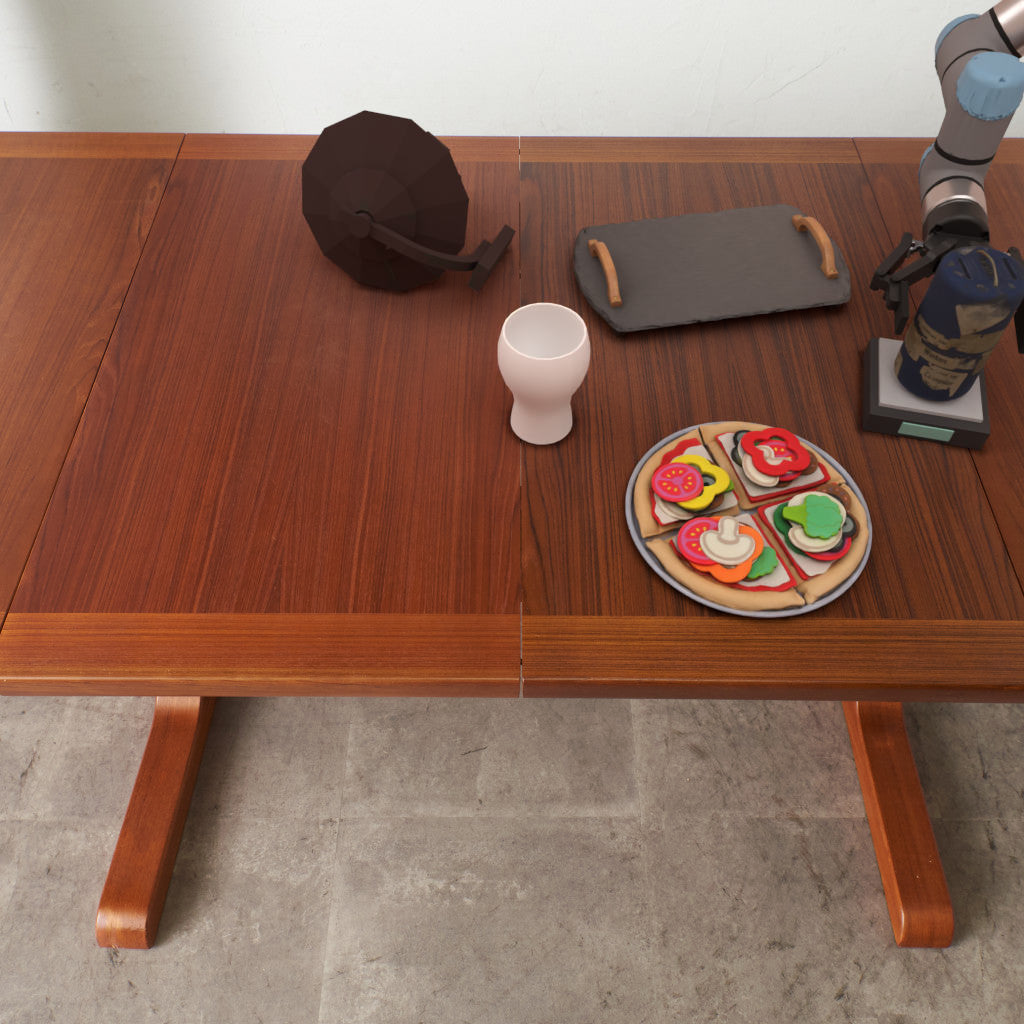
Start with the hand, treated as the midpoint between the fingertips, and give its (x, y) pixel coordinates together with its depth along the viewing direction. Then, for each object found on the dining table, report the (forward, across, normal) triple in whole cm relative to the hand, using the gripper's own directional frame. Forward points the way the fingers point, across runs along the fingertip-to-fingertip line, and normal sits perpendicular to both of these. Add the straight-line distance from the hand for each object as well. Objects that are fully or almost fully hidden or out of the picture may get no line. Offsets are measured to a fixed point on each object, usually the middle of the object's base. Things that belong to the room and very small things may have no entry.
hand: (964, 335), depth 102 cm
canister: (-3, 0, -10) cm, 11 cm away
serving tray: (-21, +29, -14) cm, 39 cm away
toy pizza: (+21, +20, -14) cm, 32 cm away
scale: (-3, 0, -14) cm, 14 cm away
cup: (+12, +46, -14) cm, 49 cm away
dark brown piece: (-16, +70, -14) cm, 73 cm away
